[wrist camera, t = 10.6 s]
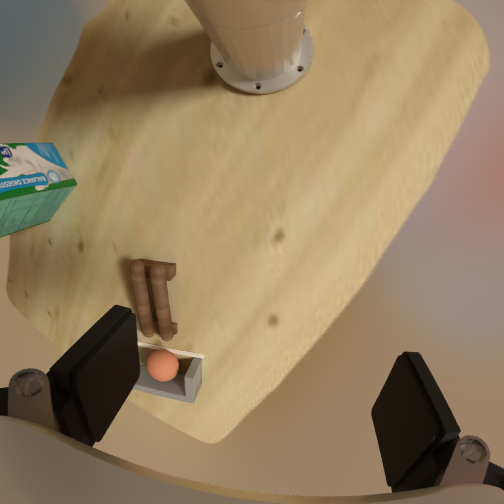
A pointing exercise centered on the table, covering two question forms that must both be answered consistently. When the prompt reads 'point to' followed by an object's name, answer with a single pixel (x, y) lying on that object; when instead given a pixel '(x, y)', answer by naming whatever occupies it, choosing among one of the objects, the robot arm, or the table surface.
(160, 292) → the brown piece
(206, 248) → the table surface
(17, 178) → the milk carton
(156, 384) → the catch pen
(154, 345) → the line
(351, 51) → the table surface
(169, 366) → the ball
